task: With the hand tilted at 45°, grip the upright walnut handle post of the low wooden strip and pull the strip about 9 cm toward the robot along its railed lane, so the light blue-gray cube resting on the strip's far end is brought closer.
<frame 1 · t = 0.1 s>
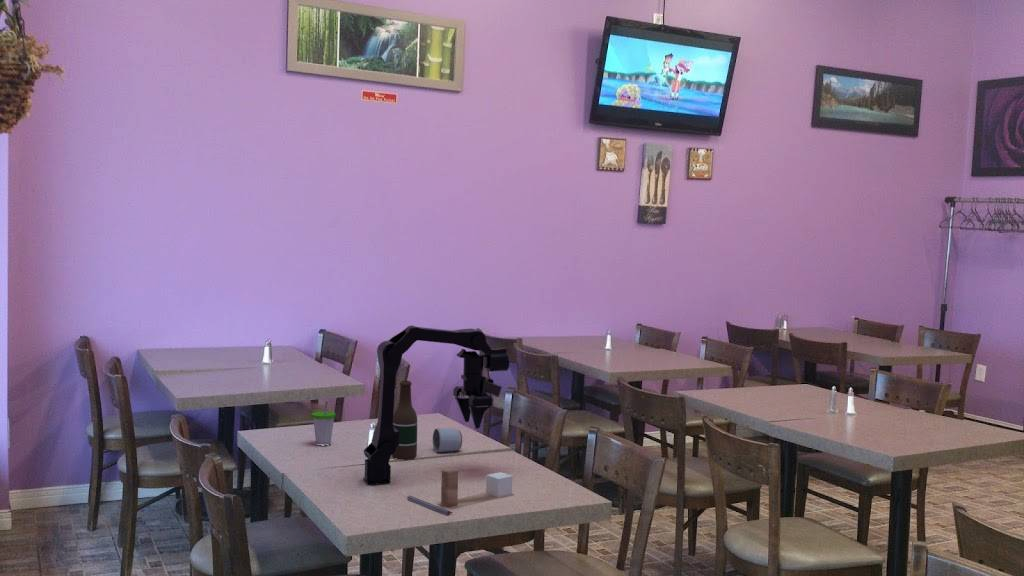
hand: (472, 425, 280), 15 cm above the table, tool pointing down, fingers open, 9 cm apart
lane rails: (449, 509, 247), on the table
light blue-gray cube: (499, 493, 258), point 1 cm above the table, touching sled
ceramic mug: (445, 451, 310), on the table
beer bottle: (404, 457, 300), on the table
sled: (476, 484, 252), point 5 cm above the table, slide at 0.0 cm, touching light blue-gray cube
cup: (323, 445, 313), on the table
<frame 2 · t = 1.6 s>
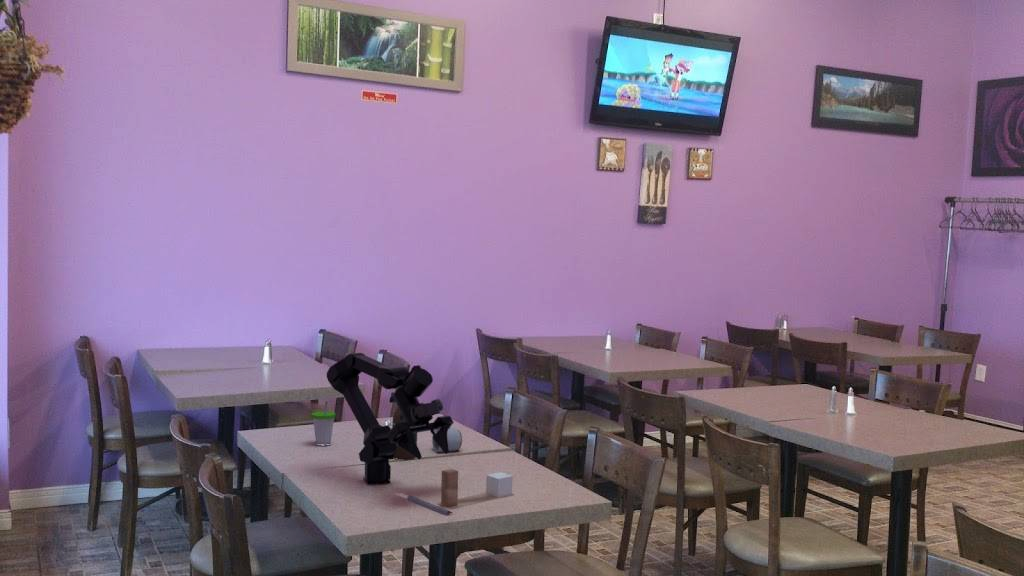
hand: (434, 455, 252), 12 cm above the table, tool tilted 45°, fingers open, 9 cm apart
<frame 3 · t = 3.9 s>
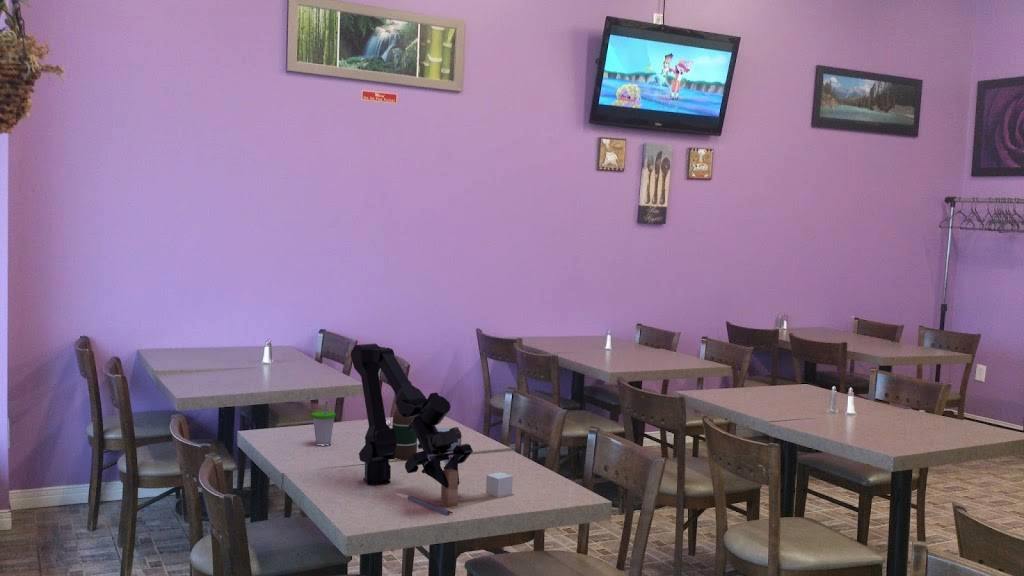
hand: (452, 485, 245), 7 cm above the table, tool tilted 45°, fingers closed on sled, 3 cm apart
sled: (476, 484, 252), point 5 cm above the table, slide at 0.0 cm, touching gripper, light blue-gray cube
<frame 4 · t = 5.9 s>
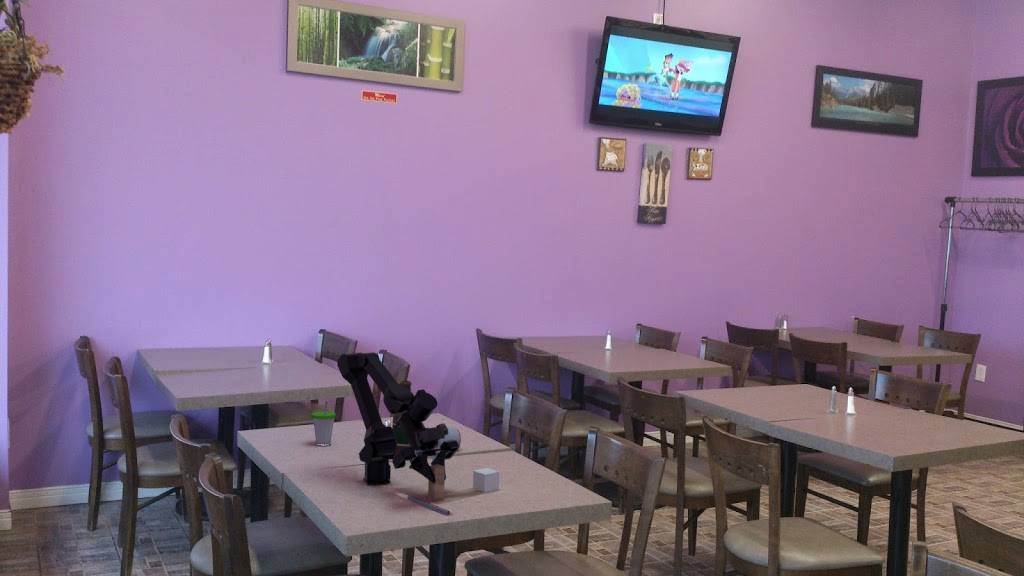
hand: (439, 481, 249), 7 cm above the table, tool tilted 45°, fingers closed on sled, 3 cm apart
light blue-gray cube: (485, 489, 262), point 1 cm above the table
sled: (463, 479, 256), point 5 cm above the table, slide at 5.6 cm, touching gripper
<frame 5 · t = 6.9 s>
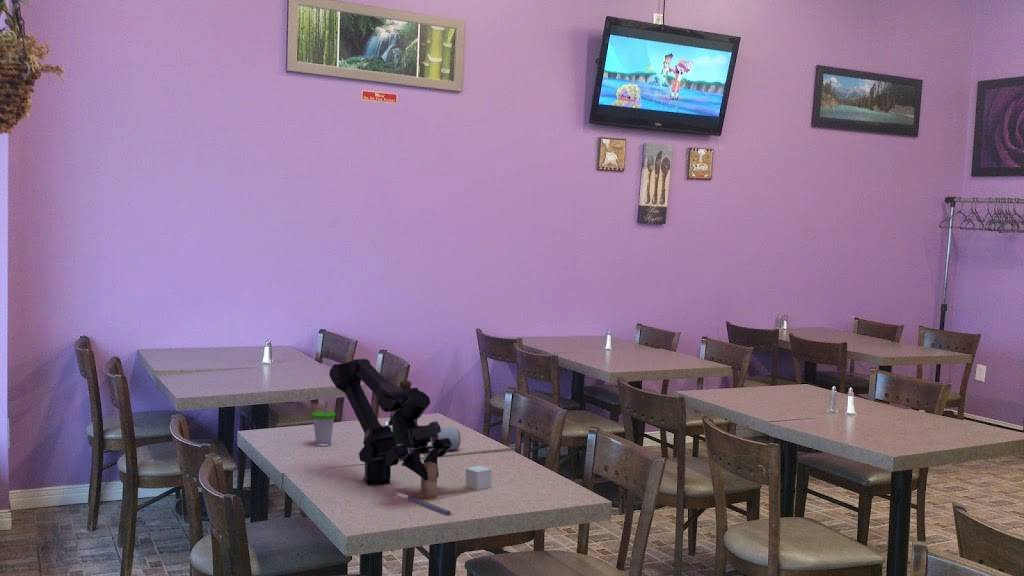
hand: (432, 478, 252), 7 cm above the table, tool tilted 45°, fingers closed on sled, 3 cm apart
light blue-gray cube: (478, 486, 264), point 1 cm above the table
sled: (455, 476, 259), point 5 cm above the table, slide at 8.8 cm, touching gripper
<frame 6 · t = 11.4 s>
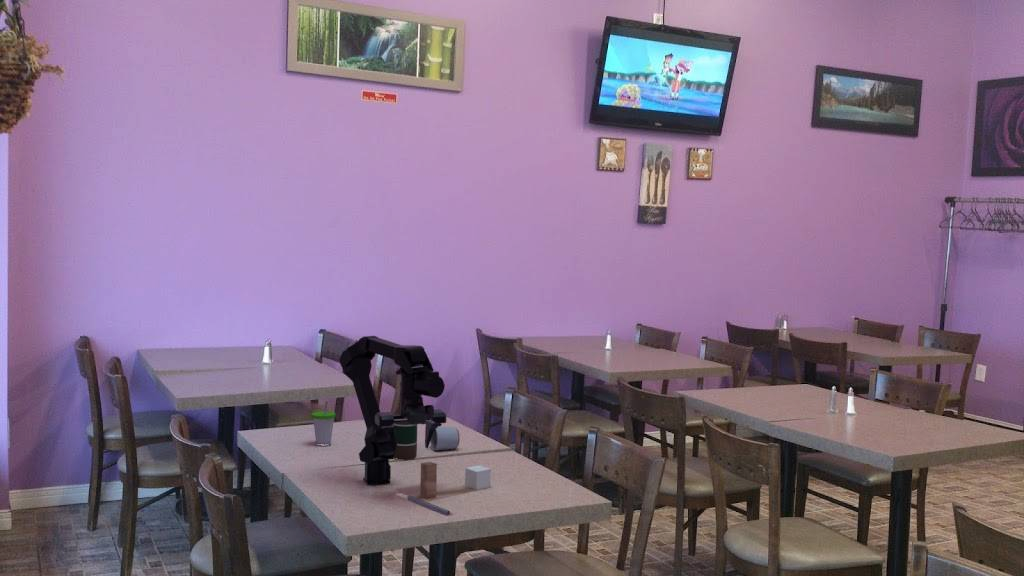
hand: (410, 449, 260), 12 cm above the table, tool pointing down, fingers open, 9 cm apart
light blue-gray cube: (477, 486, 265), point 1 cm above the table, touching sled
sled: (455, 476, 259), point 5 cm above the table, slide at 9.0 cm, touching light blue-gray cube
at the end: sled slide at 9.0 cm; light blue-gray cube inside the target area (0.4 cm from its centre), point 1.2 cm above the table; light blue-gray cube touching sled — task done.
